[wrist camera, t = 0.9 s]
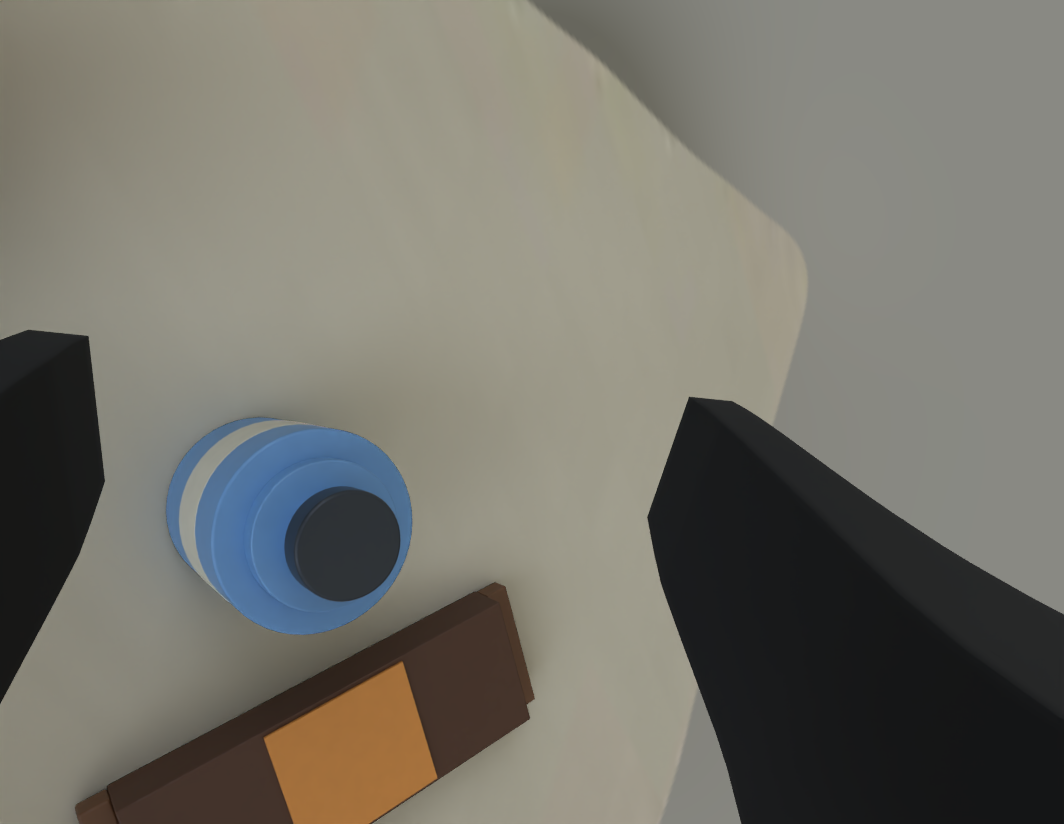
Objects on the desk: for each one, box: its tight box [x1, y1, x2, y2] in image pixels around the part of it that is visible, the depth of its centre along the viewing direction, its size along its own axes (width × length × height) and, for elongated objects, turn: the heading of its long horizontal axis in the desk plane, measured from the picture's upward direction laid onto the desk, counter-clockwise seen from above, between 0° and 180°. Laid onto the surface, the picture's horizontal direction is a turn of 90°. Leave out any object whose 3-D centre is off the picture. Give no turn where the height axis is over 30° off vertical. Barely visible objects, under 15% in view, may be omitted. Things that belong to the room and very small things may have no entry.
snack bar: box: [75, 582, 535, 824], centre depth 24 cm, size 14×4×2 cm, turn 105°
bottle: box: [166, 417, 412, 635], centre depth 20 cm, size 5×5×7 cm
